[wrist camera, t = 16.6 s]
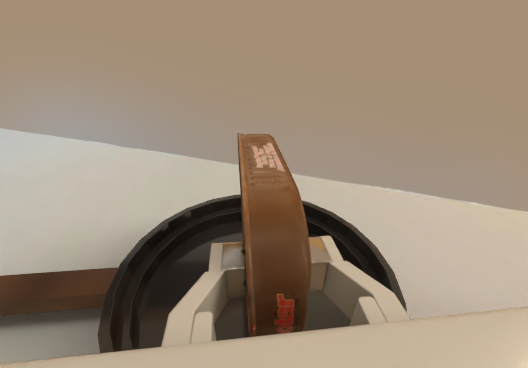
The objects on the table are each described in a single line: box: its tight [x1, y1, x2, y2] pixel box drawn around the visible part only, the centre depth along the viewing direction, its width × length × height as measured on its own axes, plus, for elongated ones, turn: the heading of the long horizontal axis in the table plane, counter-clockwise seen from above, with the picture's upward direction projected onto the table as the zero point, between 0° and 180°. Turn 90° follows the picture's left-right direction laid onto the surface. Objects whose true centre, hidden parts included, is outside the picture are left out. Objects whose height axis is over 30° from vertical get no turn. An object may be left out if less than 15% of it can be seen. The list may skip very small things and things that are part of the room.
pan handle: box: [0, 268, 118, 316], centre depth 17 cm, size 12×2×1 cm, turn 97°
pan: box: [98, 195, 407, 353], centre depth 19 cm, size 20×20×3 cm
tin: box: [238, 133, 312, 337], centre depth 16 cm, size 15×3×8 cm, turn 6°
